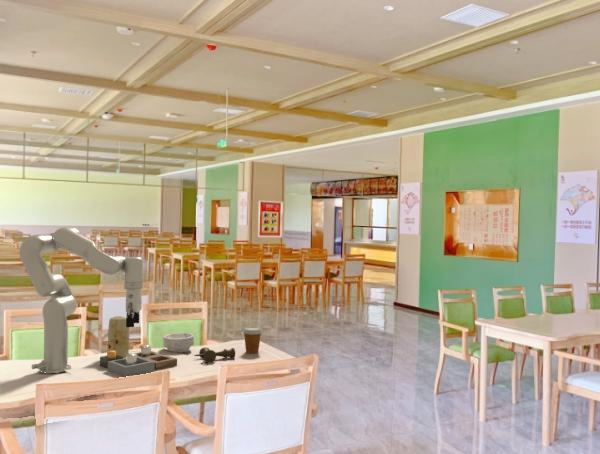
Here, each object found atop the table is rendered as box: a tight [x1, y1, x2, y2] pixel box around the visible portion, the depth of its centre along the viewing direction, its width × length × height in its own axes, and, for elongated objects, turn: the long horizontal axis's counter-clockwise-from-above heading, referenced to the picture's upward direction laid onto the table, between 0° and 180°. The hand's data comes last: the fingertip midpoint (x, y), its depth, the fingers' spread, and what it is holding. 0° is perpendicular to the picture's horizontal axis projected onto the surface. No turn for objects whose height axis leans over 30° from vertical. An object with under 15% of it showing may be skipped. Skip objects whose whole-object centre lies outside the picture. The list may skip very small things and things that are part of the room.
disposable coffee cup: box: [243, 326, 263, 354], centre depth 280 cm, size 10×10×12 cm
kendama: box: [194, 346, 236, 363], centre depth 263 cm, size 6×10×20 cm
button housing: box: [99, 355, 123, 370], centre depth 243 cm, size 7×7×5 cm
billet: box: [125, 352, 137, 366], centre depth 236 cm, size 4×4×7 cm
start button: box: [106, 350, 116, 359], centre depth 243 cm, size 4×4×4 cm
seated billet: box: [140, 344, 152, 357], centre depth 254 cm, size 4×4×7 cm
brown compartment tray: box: [134, 350, 178, 371], centre depth 250 cm, size 22×11×4 cm, turn 48°
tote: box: [107, 356, 155, 377], centre depth 236 cm, size 14×14×5 cm
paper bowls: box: [162, 332, 195, 354], centre depth 279 cm, size 15×15×8 cm
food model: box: [107, 315, 130, 358], centre depth 260 cm, size 10×7×20 cm
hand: (132, 325), depth 237 cm, fingers open, 9 cm apart
